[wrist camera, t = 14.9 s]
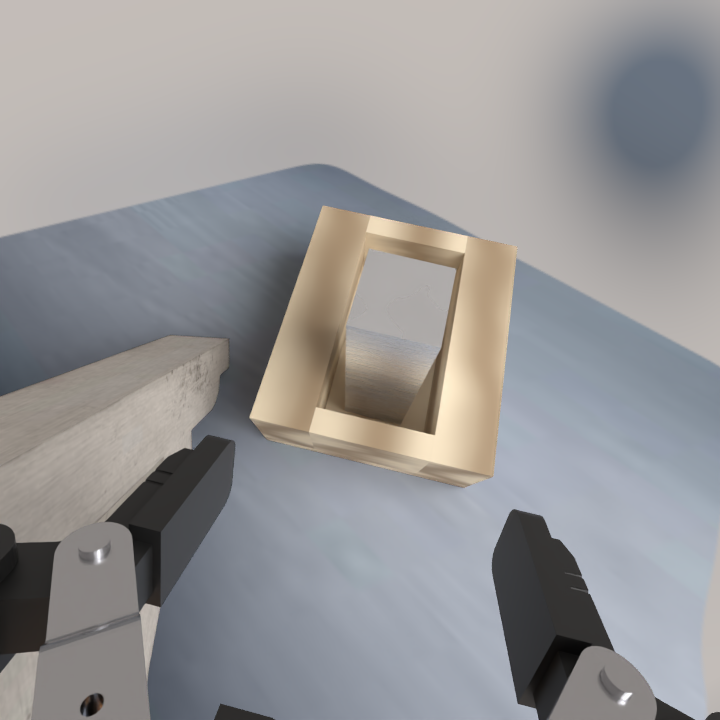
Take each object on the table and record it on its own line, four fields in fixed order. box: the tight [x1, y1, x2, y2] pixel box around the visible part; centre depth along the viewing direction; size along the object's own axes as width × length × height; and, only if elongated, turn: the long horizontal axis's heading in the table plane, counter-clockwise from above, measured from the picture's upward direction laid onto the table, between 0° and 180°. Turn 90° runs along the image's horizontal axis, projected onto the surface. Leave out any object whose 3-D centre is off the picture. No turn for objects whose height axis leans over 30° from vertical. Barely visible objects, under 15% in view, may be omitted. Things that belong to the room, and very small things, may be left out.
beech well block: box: [249, 206, 517, 488], centre depth 29 cm, size 14×16×6 cm
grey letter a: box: [0, 335, 229, 720], centre depth 23 cm, size 22×4×30 cm
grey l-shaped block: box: [345, 249, 456, 425], centre depth 25 cm, size 4×10×13 cm, turn 166°
